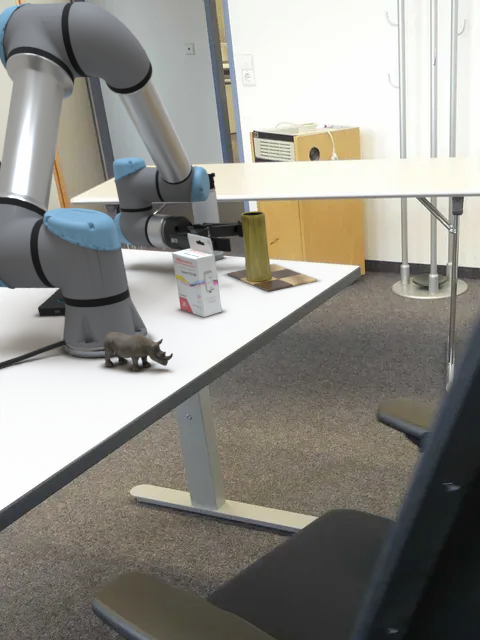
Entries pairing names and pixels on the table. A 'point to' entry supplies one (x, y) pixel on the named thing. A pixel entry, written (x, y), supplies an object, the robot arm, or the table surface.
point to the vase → (256, 246)
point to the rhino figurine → (133, 349)
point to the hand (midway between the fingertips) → (246, 238)
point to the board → (276, 278)
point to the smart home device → (53, 305)
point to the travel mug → (208, 211)
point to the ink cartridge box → (197, 277)
